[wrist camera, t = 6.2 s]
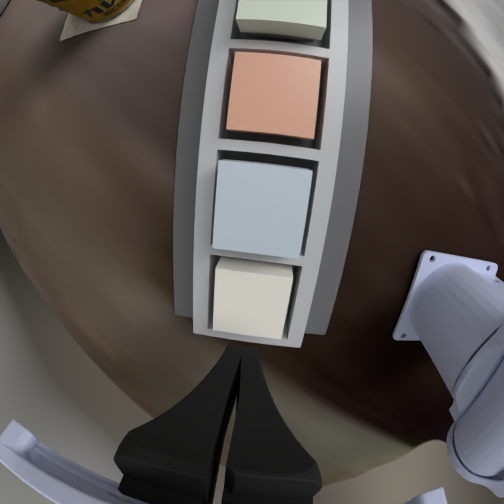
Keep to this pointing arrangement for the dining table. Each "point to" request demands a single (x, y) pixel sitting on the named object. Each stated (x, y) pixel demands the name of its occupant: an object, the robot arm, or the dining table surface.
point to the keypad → (271, 161)
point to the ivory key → (251, 297)
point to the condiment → (94, 14)
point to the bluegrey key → (261, 208)
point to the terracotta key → (274, 95)
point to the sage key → (283, 18)
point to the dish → (3, 5)
